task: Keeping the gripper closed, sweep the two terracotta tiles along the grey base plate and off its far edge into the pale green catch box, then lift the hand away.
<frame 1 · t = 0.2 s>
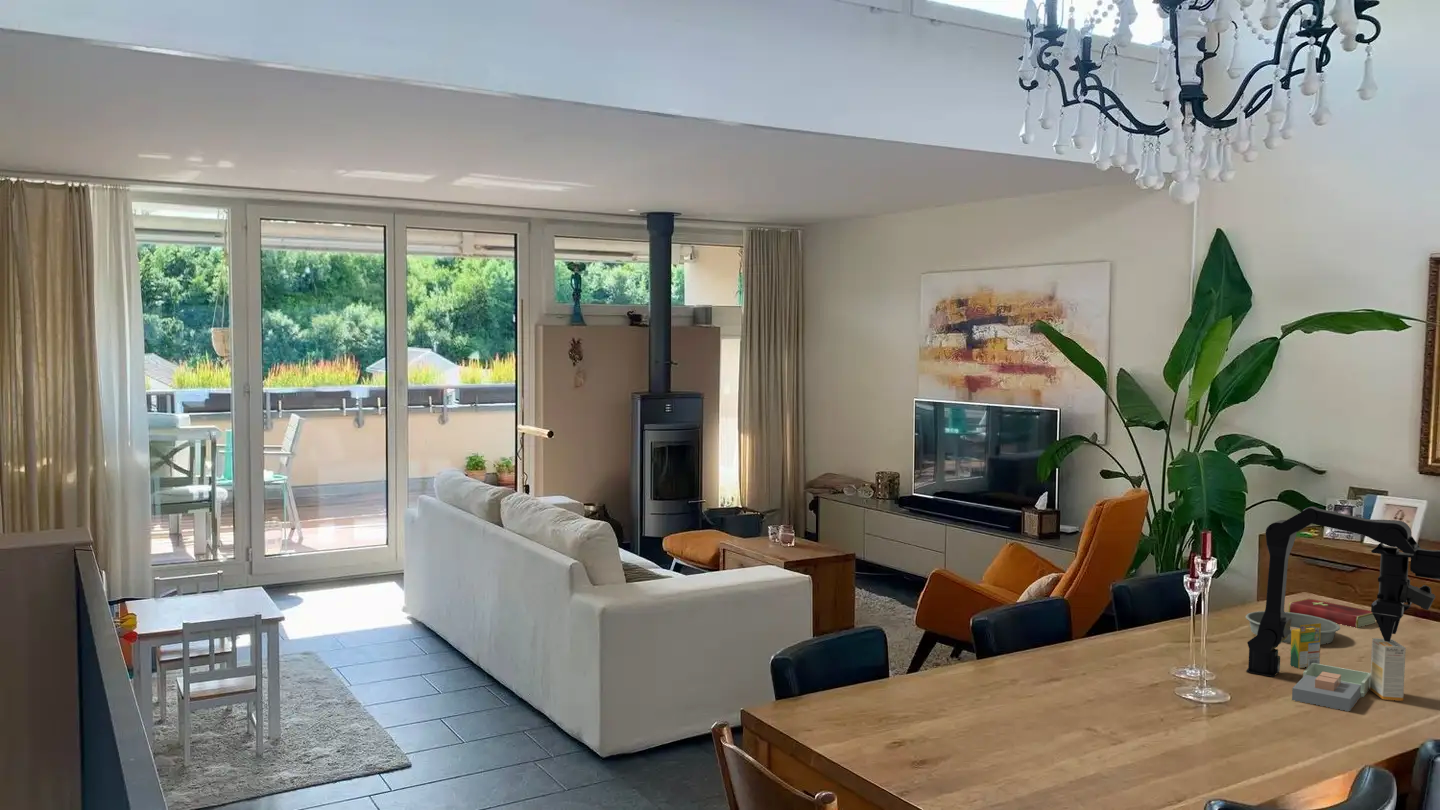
hand: (1390, 637, 261), 14 cm above the table, tool pointing down, fingers open, 9 cm apart
catch box: (1336, 686, 269), on the table
hardcover book: (1331, 620, 339), on the table
cake pan: (1291, 636, 318), on the table
crayon box: (1304, 666, 286), on the table
supplement box: (1386, 696, 263), on the table
tile 1: (1326, 687, 258), point 3 cm above the table, touching grey base plate
grey base plate: (1326, 698, 259), on the table
tile 2: (1329, 683, 262), point 3 cm above the table, touching grey base plate
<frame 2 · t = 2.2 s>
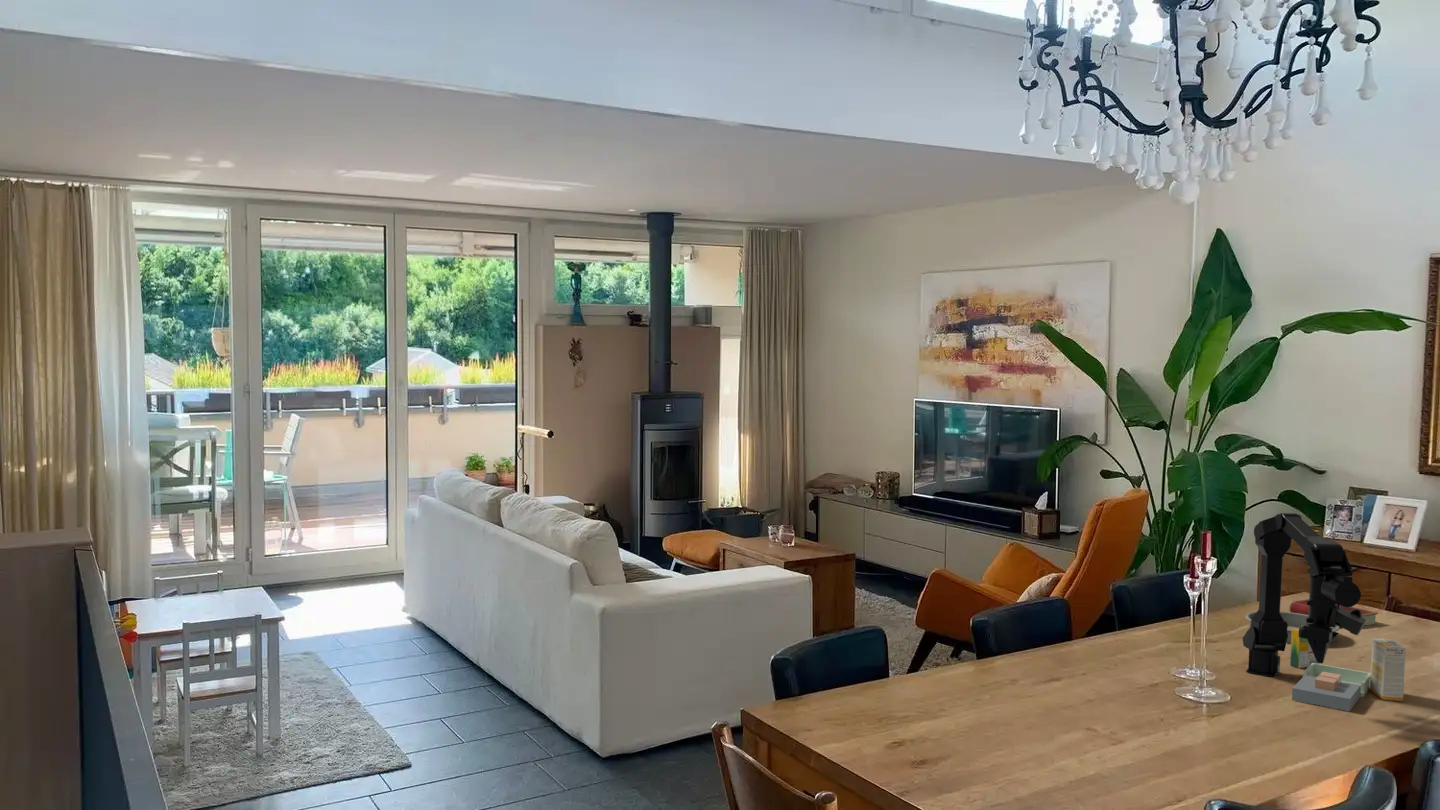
hand: (1320, 662, 252), 11 cm above the table, tool pointing down, fingers closed
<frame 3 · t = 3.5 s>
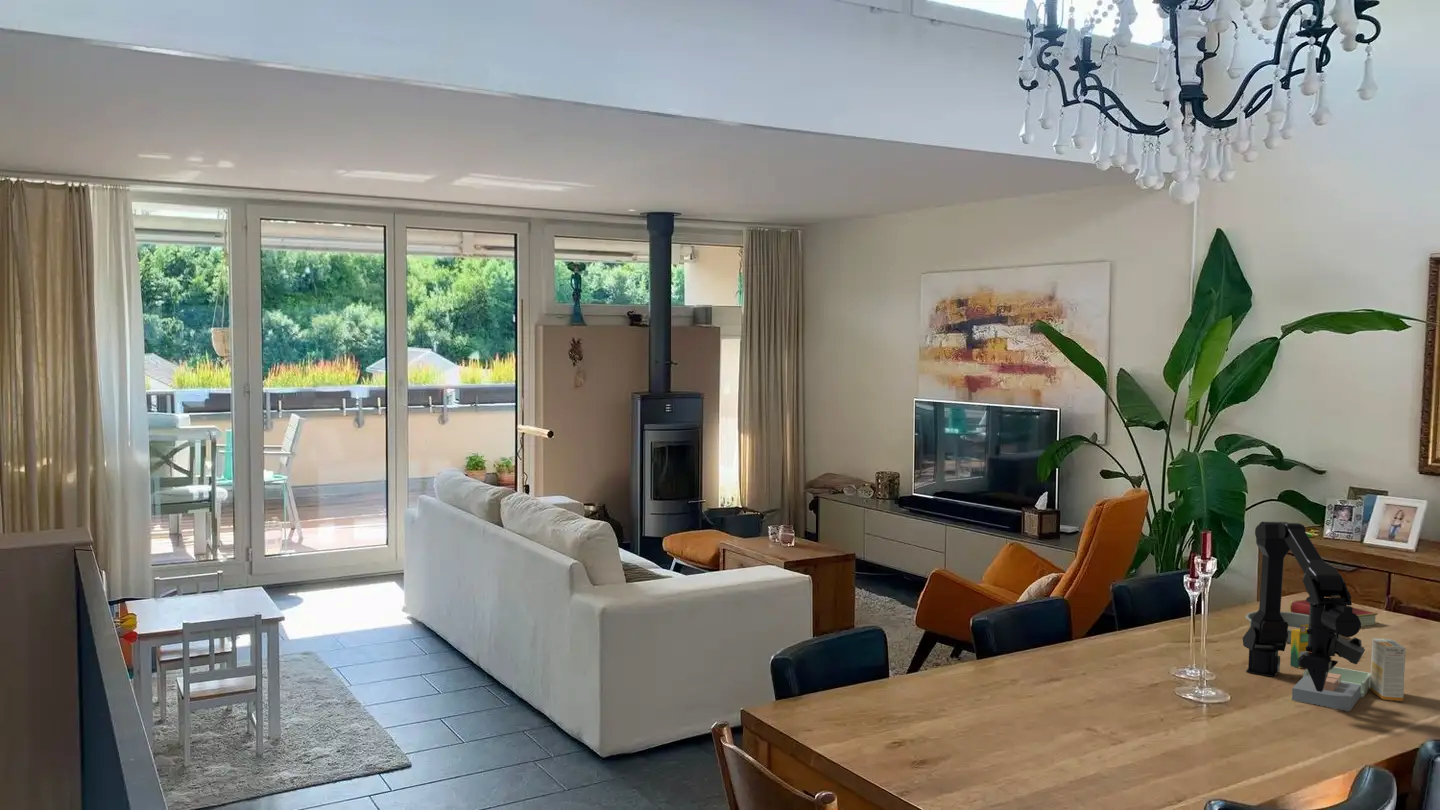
hand: (1319, 691, 253), 4 cm above the table, tool pointing down, fingers closed
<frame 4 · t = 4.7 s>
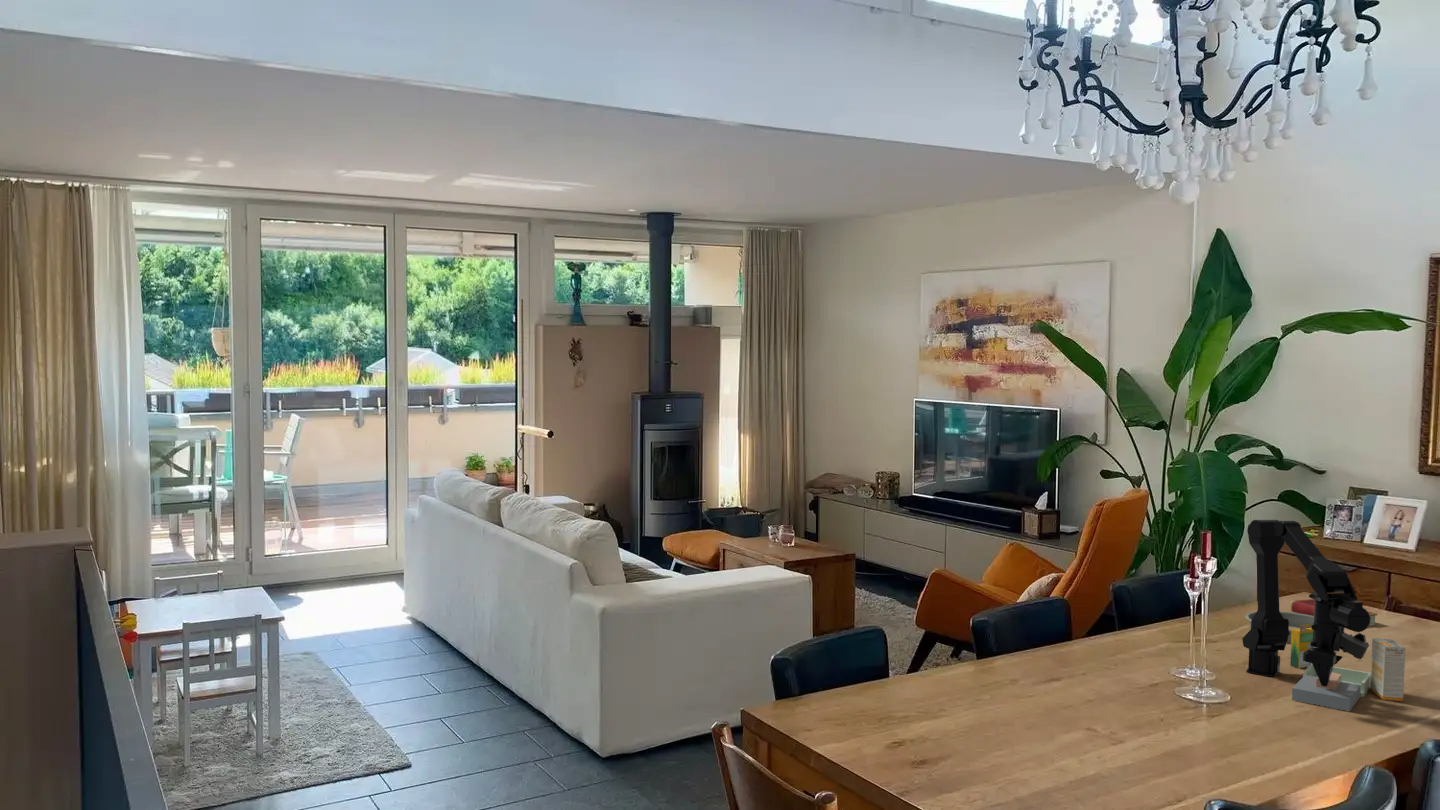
hand: (1324, 685, 257), 4 cm above the table, tool pointing down, fingers closed
tile 1: (1327, 686, 259), point 3 cm above the table, touching gripper, tile 2
tile 2: (1330, 682, 262), point 3 cm above the table, touching tile 1
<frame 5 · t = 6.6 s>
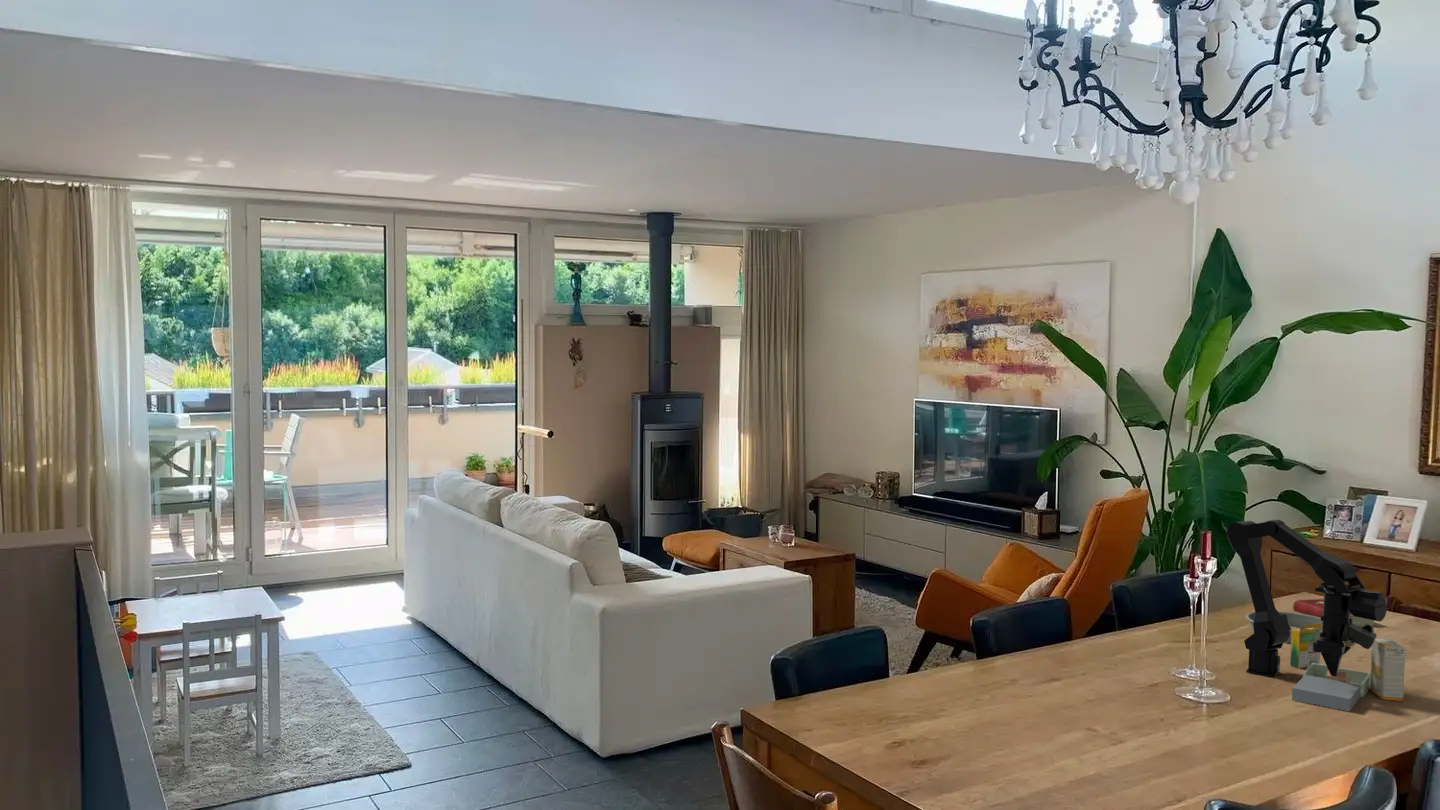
hand: (1333, 675, 265), 4 cm above the table, tool pointing down, fingers closed, pressing on tile 1
tile 1: (1336, 682, 265), point 2 cm above the table, tilted 56°, touching catch box, gripper
tile 2: (1339, 676, 269), point 2 cm above the table, tilted 180°, touching catch box
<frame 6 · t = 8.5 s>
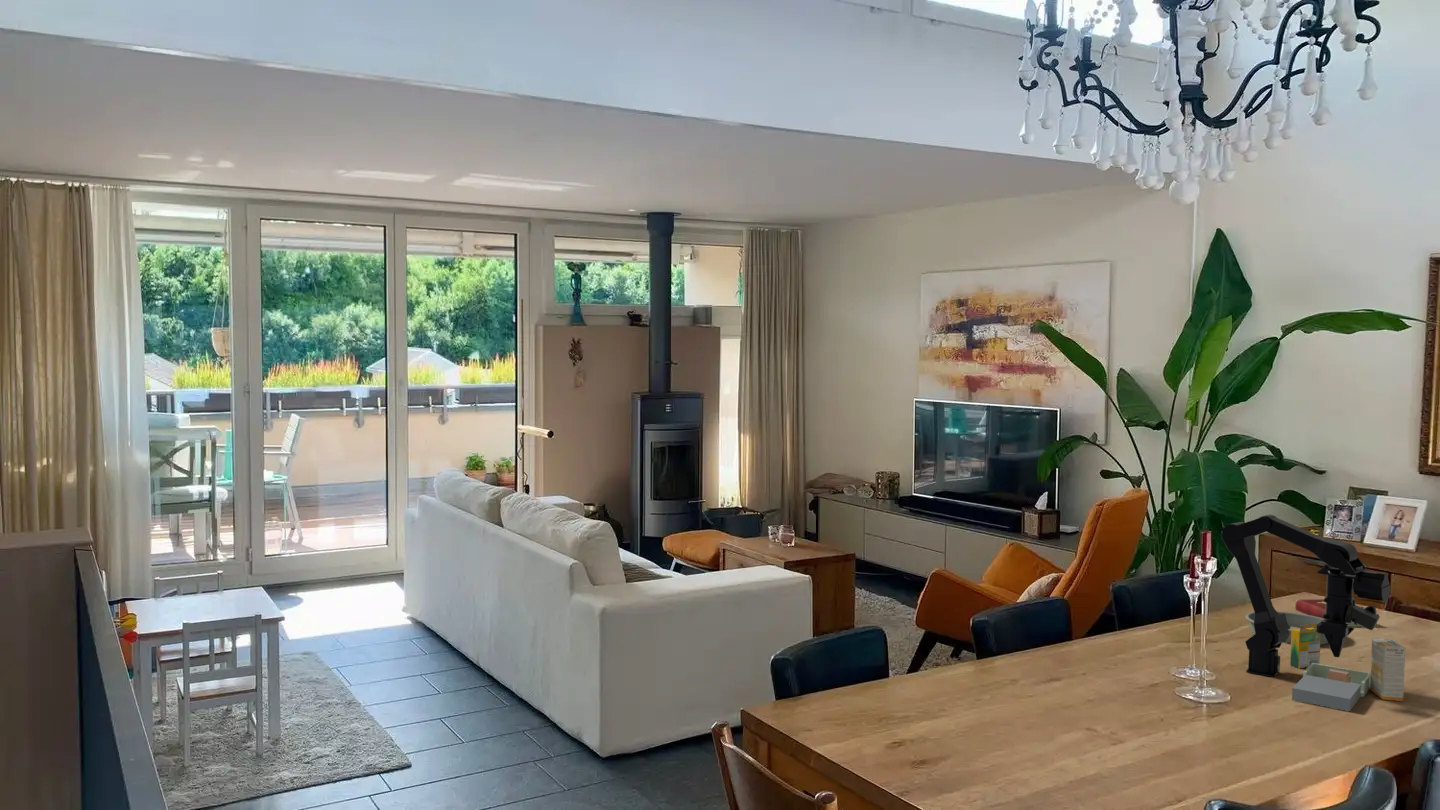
hand: (1336, 656, 266), 8 cm above the table, tool pointing down, fingers closed
tile 1: (1337, 680, 266), point 2 cm above the table, tilted 90°, touching catch box
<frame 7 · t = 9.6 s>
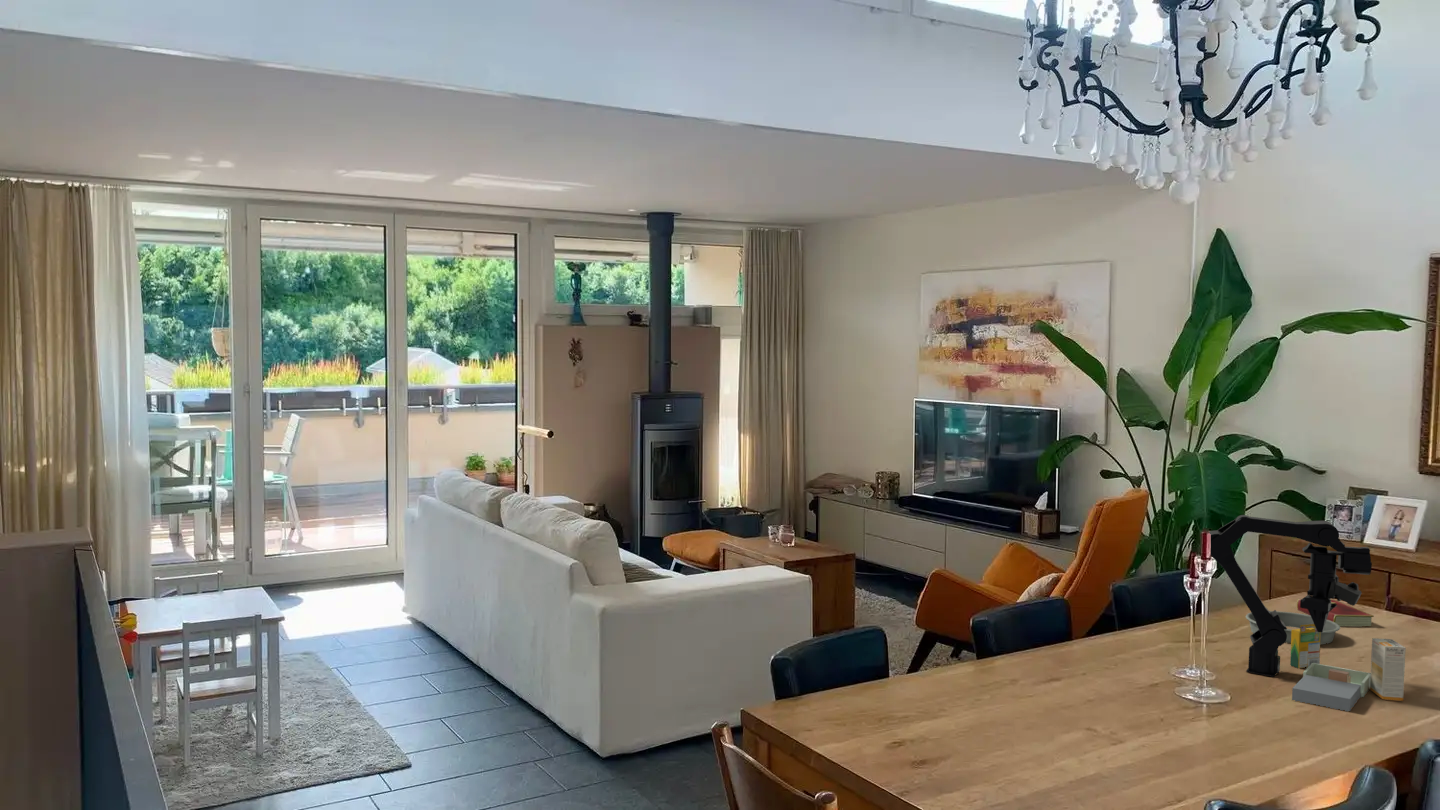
hand: (1320, 631, 275), 12 cm above the table, tool pointing down, fingers closed
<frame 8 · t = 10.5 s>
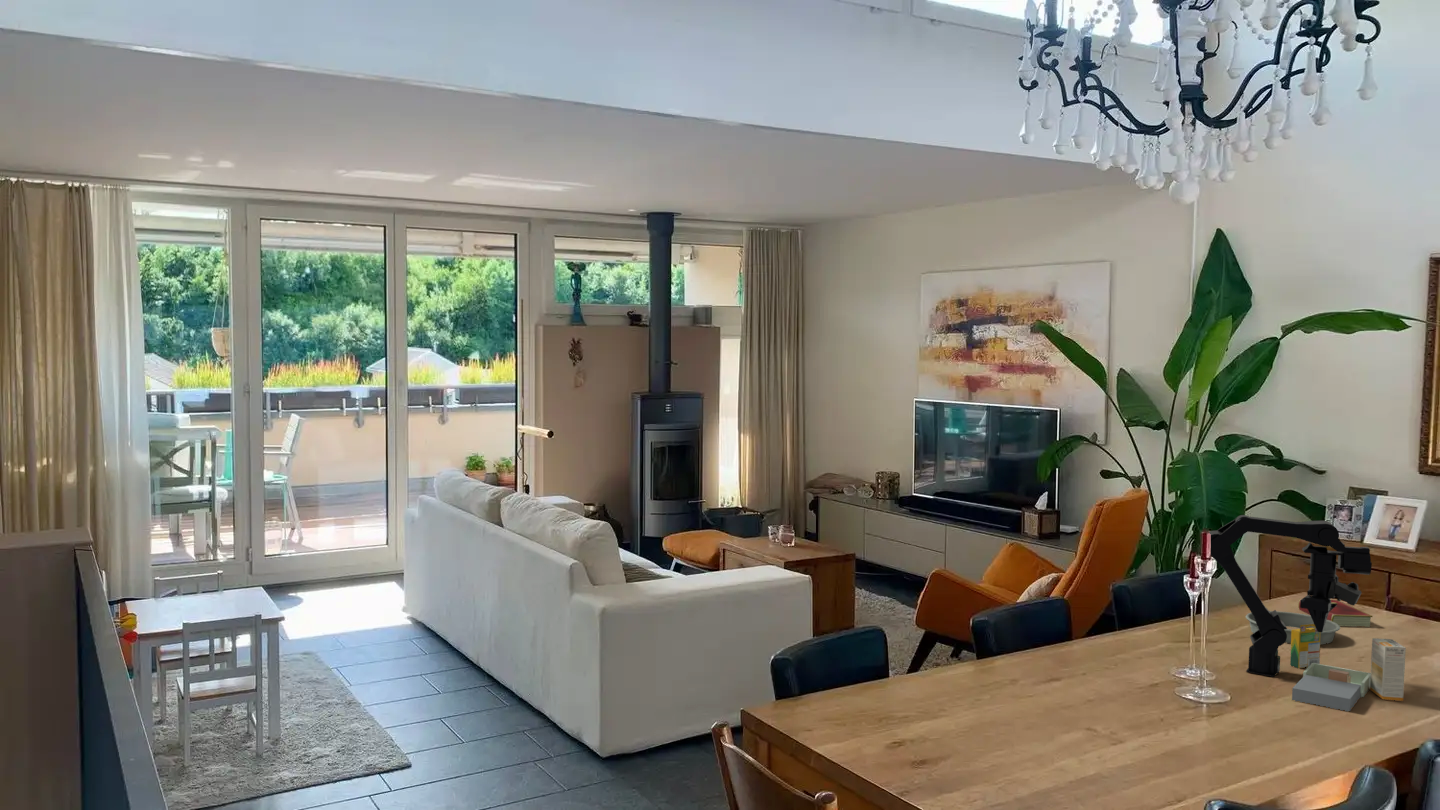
hand: (1320, 631, 275), 12 cm above the table, tool pointing down, fingers closed
at the end: tile 2 inside the target area (1.2 cm from its centre), point 2.4 cm above the table; tile 1 inside the target area (3.0 cm from its centre), point 2.4 cm above the table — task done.
